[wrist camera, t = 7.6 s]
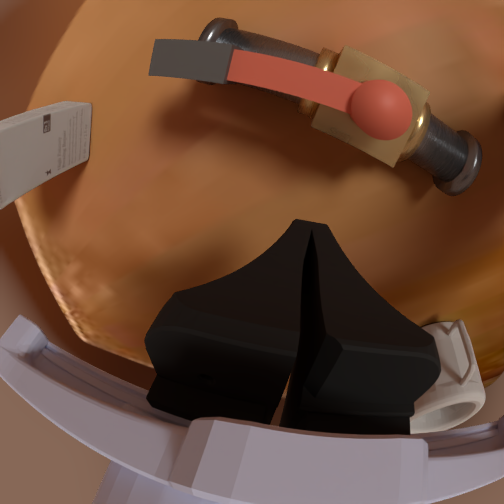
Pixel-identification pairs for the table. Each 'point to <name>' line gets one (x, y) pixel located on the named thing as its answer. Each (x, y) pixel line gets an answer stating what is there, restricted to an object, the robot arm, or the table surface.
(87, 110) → the skincare box
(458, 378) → the mug
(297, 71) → the lever
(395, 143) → the valve body
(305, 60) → the pipe
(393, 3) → the table surface
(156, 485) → the robot arm
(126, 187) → the table surface
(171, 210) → the table surface
